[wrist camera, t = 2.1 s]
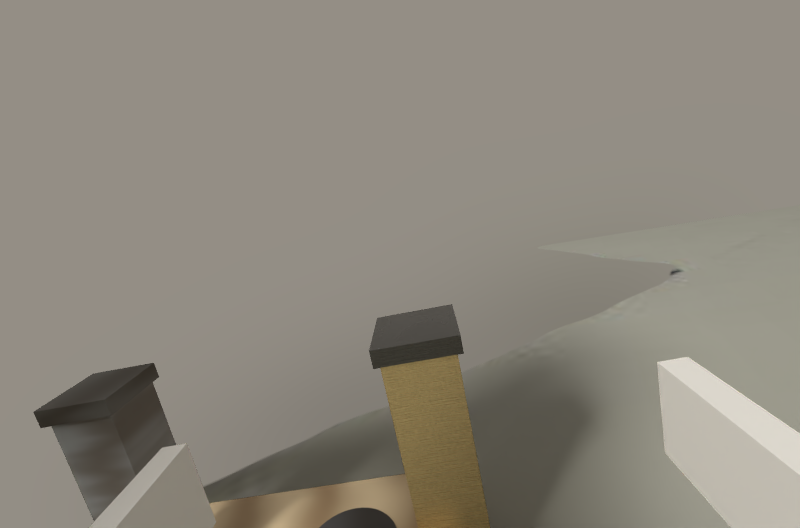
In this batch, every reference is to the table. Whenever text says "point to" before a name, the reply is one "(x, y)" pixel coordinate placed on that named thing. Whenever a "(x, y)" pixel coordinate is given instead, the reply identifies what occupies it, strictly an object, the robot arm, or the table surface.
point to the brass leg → (431, 416)
